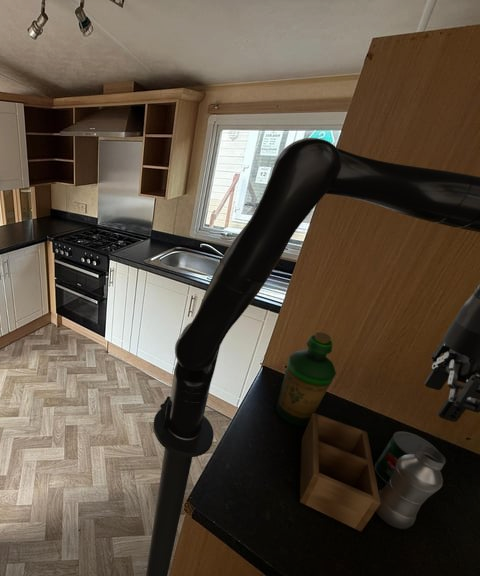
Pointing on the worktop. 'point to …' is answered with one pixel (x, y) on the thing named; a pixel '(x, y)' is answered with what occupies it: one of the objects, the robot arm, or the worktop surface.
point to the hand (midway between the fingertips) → (438, 402)
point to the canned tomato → (398, 452)
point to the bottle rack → (338, 472)
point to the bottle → (306, 380)
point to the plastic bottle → (410, 486)
